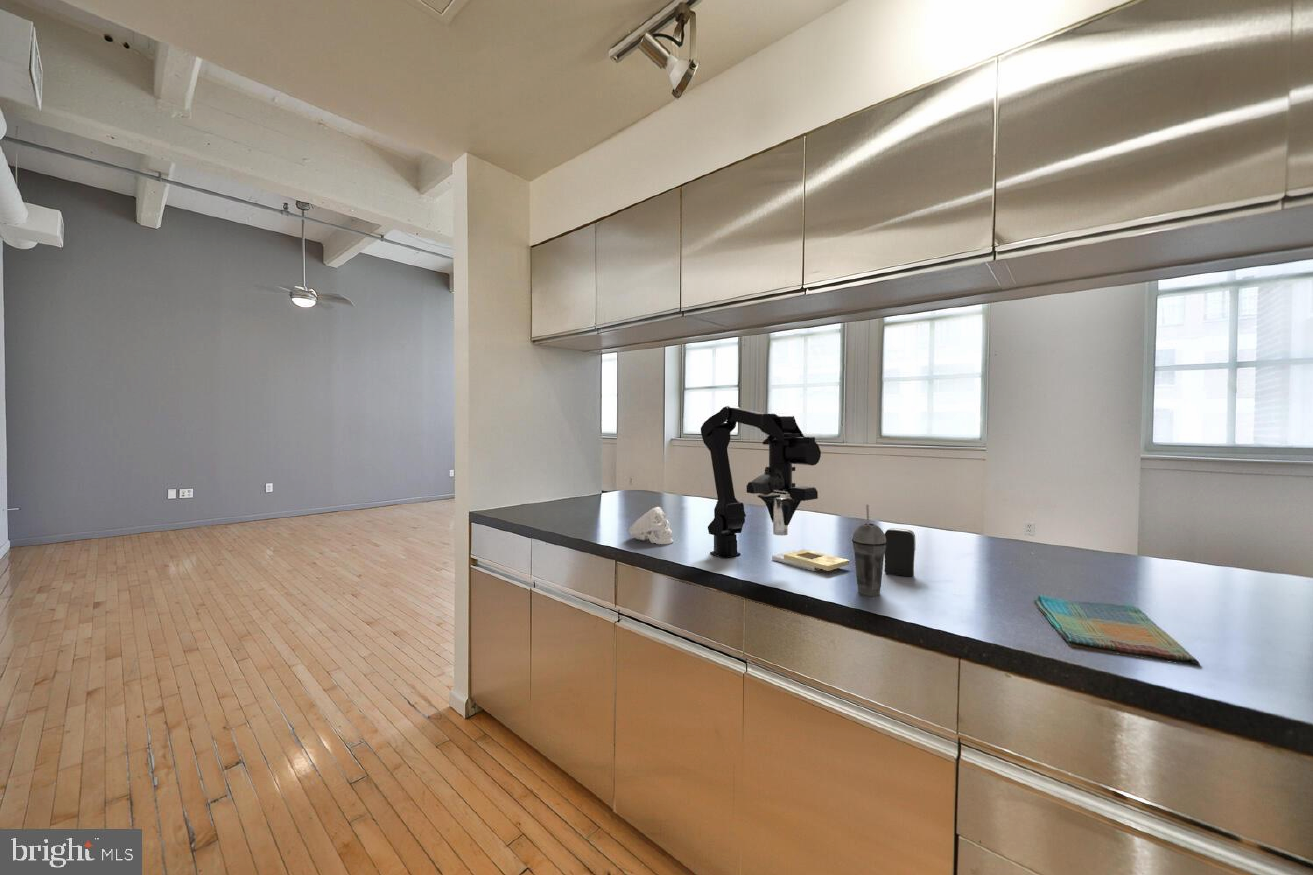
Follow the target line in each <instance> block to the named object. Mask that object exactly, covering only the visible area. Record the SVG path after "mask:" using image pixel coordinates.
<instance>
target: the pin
mask: <svg viewBox="0 0 1313 875" xmlns="http://www.w3.org/2000/svg"><path fill="white" fill-rule="evenodd" d="M781 499H786V497H780V498H773V523H772V534H773V535H775V536H780V537H781V536H788V532H789V528H788V526H789V525H787V526H786V525H785V524H784V505H783V503H782V501H781Z"/></svg>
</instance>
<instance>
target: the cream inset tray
mask: <svg viewBox="0 0 1313 875" xmlns="http://www.w3.org/2000/svg"><path fill="white" fill-rule="evenodd" d="M771 560H772V561H775V562H779V563H781V562H783V563H782V564H785V563H786V564H785V565H788V564H789V566H791V567H796V568H798V569H799V568H800V569H802V570H803V569H804V570H806V569H808V570H807V571H810V570H811V571H810V572H813V571H814V572H813V573H815V571H816V572H819V571H821V570H820V569H823V571H827V572H828V571H833V570H836V569H839V568H842V567H846V566H849V565H850V560H849V559H846V558H842V557H837V556H834V555H830V554H825V553H821V552H817V551H813V550H809V549H806V548H805V549H804V548H803V549H800V550H791V551H786V552H782V553H777V554H774V555H772V557H771ZM818 570H819V571H818Z"/></svg>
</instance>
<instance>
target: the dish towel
mask: <svg viewBox="0 0 1313 875" xmlns="http://www.w3.org/2000/svg"><path fill="white" fill-rule="evenodd" d="M1033 603H1034V605H1035V606H1036V607H1037V609H1039V611H1040V612H1042V614H1043V615H1044V616H1045V618H1046V619H1047V620H1048V621H1049V622H1050V624H1051V625H1052V626H1053V627H1054V629H1056V631H1057V632H1058V634H1059V635H1060V637H1062V639H1063V640H1064V639H1065V640H1064V641H1065V642H1066V643H1067V646H1068V647H1070V646H1071V648H1075V647H1076V648H1077V649H1081V648H1082V649H1083V650H1089V651H1095V652H1102V653H1110V654H1115V653H1119V654H1118V655H1121V654H1124V655H1123V656H1128V655H1131V656H1130V657H1134V656H1138V657H1137V658H1140V657H1143V658H1142V659H1147V658H1148V660H1155V661H1159V662H1160V661H1162V662H1167V661H1171V662H1170V663H1174V662H1176V663H1175V664H1180V663H1182V665H1188V666H1195V667H1201V664H1200V661H1198V660H1197V659H1196V658H1195V657H1194V656H1193V655H1192V654H1190V652H1188V651H1187V649H1185V648H1184V647H1183V646H1182V645H1181V644H1180V643H1179V642H1178V641H1176V640H1175V639H1174V637H1172V636H1170V635H1169V634H1168V633H1167V632H1166V631H1165V630H1163V629H1162V628H1161V627H1160V626H1159V625H1157V623H1155V622H1154V621H1152V619H1151V618H1149V616H1148V615H1147V614H1146V613H1145V612H1143V611H1142V610H1141V609H1140V608H1139V607H1136V606H1133V605H1131V604H1123V603H1121V604H1120V603H1099V602H1088V601H1076V600H1075V601H1073V600H1065V599H1061V598H1056V597H1052V596H1048V595H1047V596H1046V595H1042V594H1039V595H1034V599H1033Z"/></svg>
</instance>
